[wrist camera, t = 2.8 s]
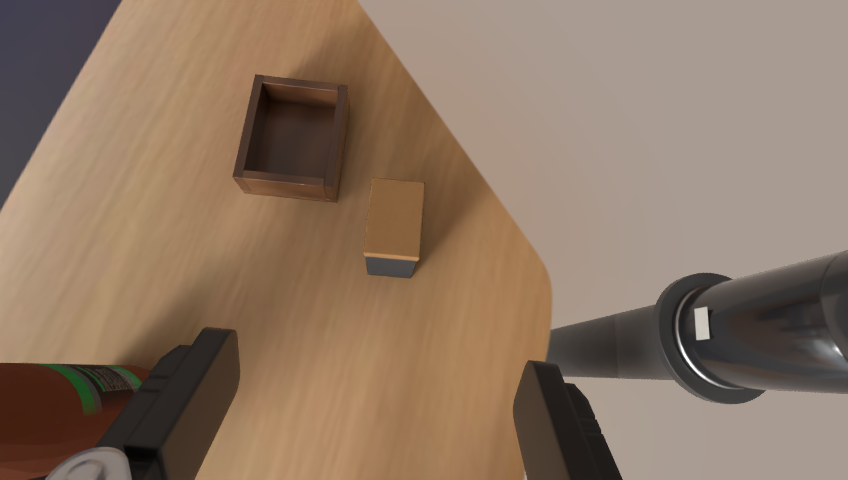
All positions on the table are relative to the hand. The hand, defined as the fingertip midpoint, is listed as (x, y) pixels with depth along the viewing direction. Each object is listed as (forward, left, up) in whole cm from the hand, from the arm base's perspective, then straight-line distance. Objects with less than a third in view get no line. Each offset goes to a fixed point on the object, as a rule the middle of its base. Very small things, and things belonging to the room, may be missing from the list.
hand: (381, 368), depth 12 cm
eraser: (0, -11, -27) cm, 29 cm away
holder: (+10, -20, -27) cm, 35 cm away
